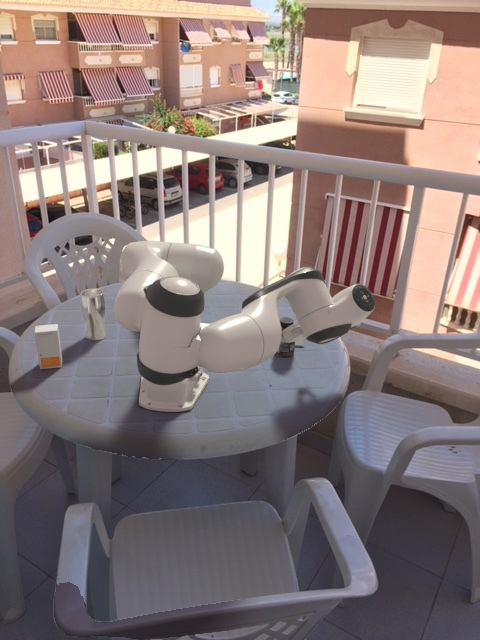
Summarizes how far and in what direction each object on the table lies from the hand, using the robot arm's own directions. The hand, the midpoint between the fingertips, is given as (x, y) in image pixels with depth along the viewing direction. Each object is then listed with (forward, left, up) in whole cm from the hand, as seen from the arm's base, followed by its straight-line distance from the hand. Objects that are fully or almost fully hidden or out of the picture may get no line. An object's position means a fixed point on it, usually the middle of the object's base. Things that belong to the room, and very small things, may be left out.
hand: (306, 335), depth 145 cm
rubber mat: (+20, +10, -11) cm, 25 cm away
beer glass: (+10, +64, -11) cm, 66 cm away
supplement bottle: (+8, +5, -11) cm, 15 cm away
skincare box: (-8, +71, -11) cm, 73 cm away
